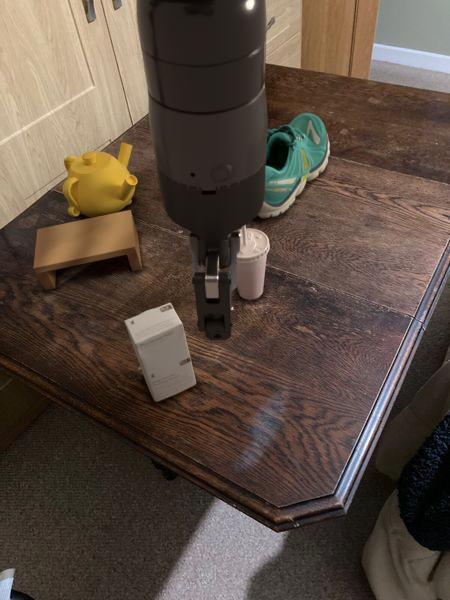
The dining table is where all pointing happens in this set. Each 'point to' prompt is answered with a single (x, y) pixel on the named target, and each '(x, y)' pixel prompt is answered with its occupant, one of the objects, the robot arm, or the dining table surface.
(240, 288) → the smoothie
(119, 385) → the dining table surface
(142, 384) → the dining table surface
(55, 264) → the wooden display riser
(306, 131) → the running shoe
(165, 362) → the cosmetic box
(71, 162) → the teapot
